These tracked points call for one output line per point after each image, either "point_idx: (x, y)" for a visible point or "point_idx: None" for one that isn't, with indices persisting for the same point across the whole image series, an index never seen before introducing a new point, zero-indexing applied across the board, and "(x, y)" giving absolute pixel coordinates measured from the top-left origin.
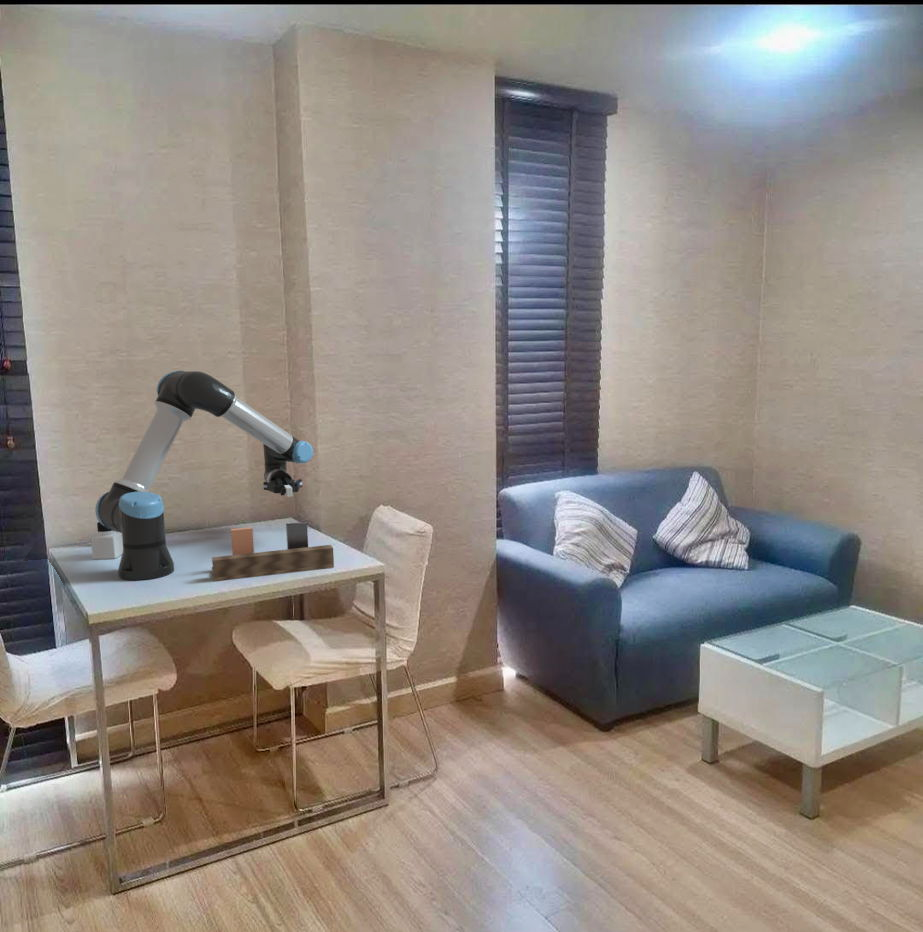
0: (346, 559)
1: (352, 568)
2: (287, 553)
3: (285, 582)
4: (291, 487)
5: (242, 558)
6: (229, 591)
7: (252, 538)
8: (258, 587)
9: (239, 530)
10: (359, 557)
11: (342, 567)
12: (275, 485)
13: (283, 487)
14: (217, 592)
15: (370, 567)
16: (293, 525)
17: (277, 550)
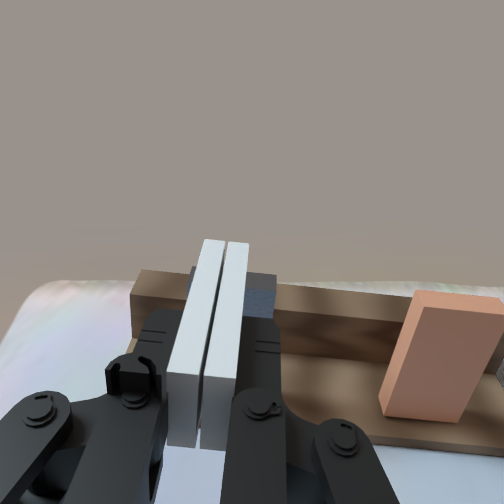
0: (59, 368)
1: (106, 296)
2: (281, 285)
3: (291, 284)
4: (201, 257)
5: (411, 299)
6: (410, 286)
7: (406, 321)
8: (350, 282)
9: (465, 297)
10: (7, 368)
11: (122, 312)
12: (354, 433)
13: (247, 384)
14: (436, 291)
15: (63, 285)
16: (248, 275)
17: (308, 311)
